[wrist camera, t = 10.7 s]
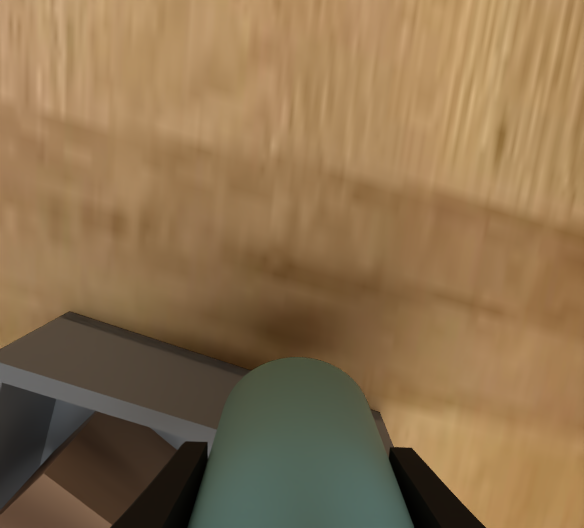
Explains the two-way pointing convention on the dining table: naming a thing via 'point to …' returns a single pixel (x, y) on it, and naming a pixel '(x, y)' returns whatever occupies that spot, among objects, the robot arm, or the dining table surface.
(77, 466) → the walnut block
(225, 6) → the dining table surface
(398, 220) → the dining table surface
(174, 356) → the tote
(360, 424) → the teal cylinder
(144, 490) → the robot arm
